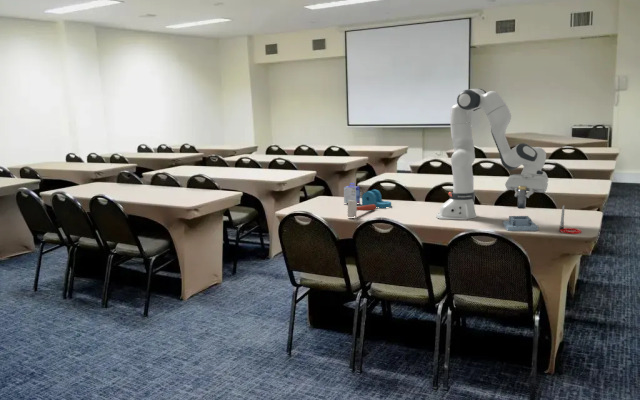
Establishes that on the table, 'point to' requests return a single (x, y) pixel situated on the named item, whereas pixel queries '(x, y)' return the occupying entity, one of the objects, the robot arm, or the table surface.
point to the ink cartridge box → (351, 193)
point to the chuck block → (520, 224)
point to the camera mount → (374, 199)
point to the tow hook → (564, 230)
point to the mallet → (358, 208)
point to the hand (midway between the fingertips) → (521, 196)
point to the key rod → (521, 197)
